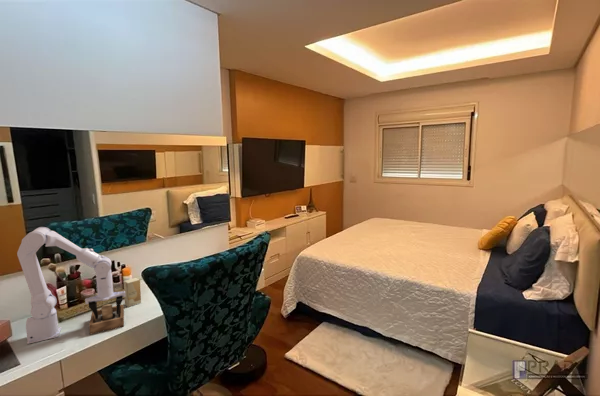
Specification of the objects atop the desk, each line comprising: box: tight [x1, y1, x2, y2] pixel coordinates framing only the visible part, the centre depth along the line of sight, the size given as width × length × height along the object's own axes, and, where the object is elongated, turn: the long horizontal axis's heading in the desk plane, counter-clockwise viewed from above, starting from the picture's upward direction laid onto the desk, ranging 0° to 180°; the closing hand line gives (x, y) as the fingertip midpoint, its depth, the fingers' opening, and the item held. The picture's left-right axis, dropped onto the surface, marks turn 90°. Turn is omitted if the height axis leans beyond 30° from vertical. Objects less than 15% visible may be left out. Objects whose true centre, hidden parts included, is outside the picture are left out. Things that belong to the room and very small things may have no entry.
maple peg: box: [100, 303, 113, 321], centre depth 132 cm, size 4×4×7 cm
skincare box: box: [123, 277, 142, 308], centre depth 150 cm, size 6×4×12 cm
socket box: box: [88, 304, 125, 335], centre depth 133 cm, size 12×14×4 cm
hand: (107, 315), depth 132 cm, fingers open, 7 cm apart
